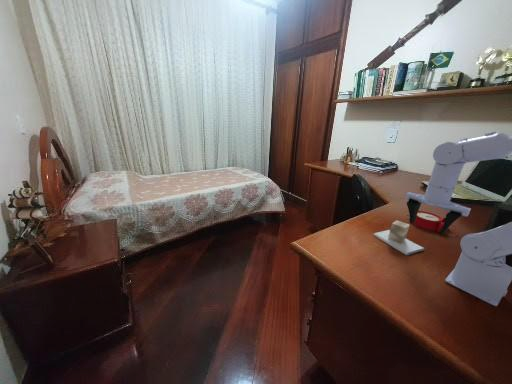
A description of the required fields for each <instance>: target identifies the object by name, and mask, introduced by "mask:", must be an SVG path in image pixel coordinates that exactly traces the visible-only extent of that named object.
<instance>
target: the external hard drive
mask: <svg viewBox="0 0 512 384" xmlns="http://www.w3.org/2000/svg"><path fill="white" fill-rule="evenodd" d="M390 230H391V229H387V230H383V231H379V232H375V233H373V237H374V236H375V237H376V238H377V239H379V240H381V241H382V242H384V243H386V244H387V245H389V246H391V247H392V248H394V249H395V250H397V251H399V252H401V253H402V254H404V255H405V256H409V255H412V254H416V253H418V252H422V251H424V250H425V247H423V246H421V245H419V244H417V243H415V242H413V241H411V240H410V239H408V238H406V239H405V240H404V241H403V242H402V243H401V244H400V243H398V242H395V241H393V240H390V239H388V237H389V233H390Z"/></svg>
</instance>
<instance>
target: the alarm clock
mask: <svg viewBox="0 0 512 384" xmlns="http://www.w3.org/2000/svg"><path fill="white" fill-rule="evenodd" d="M406 216H407V217H409V215H406ZM445 218H446V217H444V218H442V217H440V216H439V215H437V214H435V213H432V212H428V211H422V210H418V213H417V216H416V220H415V222H414V223H413V224H412V225H414V226H416V227H418V228H421V229H424V230H430V231H436V232H438V233H439V234H440V231H441V229H442V227H443V225H444V222H445ZM408 220H409V221H410V218H409V219H408ZM451 226H452V227H454V229H451V228H448V229H447V230H449V231H453V232H454V231H457V229H458V228H457V226H456V225H452V224H451V225H450V227H451Z"/></svg>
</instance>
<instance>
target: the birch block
mask: <svg viewBox="0 0 512 384" xmlns="http://www.w3.org/2000/svg"><path fill="white" fill-rule="evenodd" d="M410 227H411V225H410V223H405V222H403V221H400V220H395V221H393V222H391V228H390V229H389V230H390V233H389V237H388V239H390V240H393V241H395V242H398V243H400V244H401V243H402V242H403V241H404V240H405V239H407V236H408V231H409V228H410Z"/></svg>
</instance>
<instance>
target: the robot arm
mask: <svg viewBox="0 0 512 384" xmlns="http://www.w3.org/2000/svg"><path fill="white" fill-rule="evenodd" d="M511 153H512V136H510V135H508V134H506V133H503V132H496V131H490V132H485V133H484V135H483V136H478V137H473V138H469V139H468V137H467V138H466V137H464V138H461V139H459V141H458V142H454V141H453V142H452V141H446V142H444V143H441V144H439V145H437V146H436V147H435V149H434V150H433V153H432V156H433V157H432V158H433V160H434V161H435V162H434V165H433V169H432V173H431V175H430V178H429V181H428V184H427V187H426V190H425V194H420V193H414V192H410V191H409V192H406V194H405V198H404V199H405V200H408V201H406V206H407V209H408V214H409V215H408V216H409V219H410V220H409V222H408V224H409V225H410V224H411V225H414V224H413V223H414V222H415V220H416V216H417V213H418V211H420V208H421V206H422V204H424V205H428V206H429V207H430V206H431V207H435V208H437V209H441V210H445V211H448V212H447V213H446V214H445V217H444V218H445V222H444V225H443V227H442V229H441V231H440V233H439V235H441V236H444V235H445V234H446V232H447V230H448V229H450V227H451V225H452V224H454V223H455V222H456V221H457V220H458V219H460V218H461V217H462V216H463V217H469V215H470V212H471V210H472V208H470V207H467V206H464V205H461V204H458V203H456V202H452V201H451V200H452V197H453V193H454V191H455V188H456V187H457V183H458V181H459V177H460V175H461V173H462V171H463V168H464V166H465V164H467V163H474V162H481V161H490V160H500V159H505V158H506V157H508V156H509V155H510V154H511ZM459 244H460V245H459V246H460V248H461V253H460V256H459V258H458V260H457V262H456V265H455V266H454V268H453V270H452V271H450V273H449V274H448V276H447V277H446V278H445V280H444V281H445V282H446V283H448V284H450V285H452V286H453V287H456V288H458V289H460V290H462V291H463V292H466V293H468V294H470V295H472V296H474V297H475V298H478V299H479V300H481V301H483V302H486V303H488V304H489V305H492V306H494V307H498V306H499V304H500V302H501V300H502V298H503V297H506V295H507V294H508V287H509V285H510V284H511V282H512V266H510V265H508V264H506V261H507V260H506V256H510V255H512V221H510V222H508V223H505V224H503V225H500V226H498V227H495V228H492V229H489V230H485V231H481V232H477V233H468V234H465V235H464V236H462V238H461V240H460V242H459Z"/></svg>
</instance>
